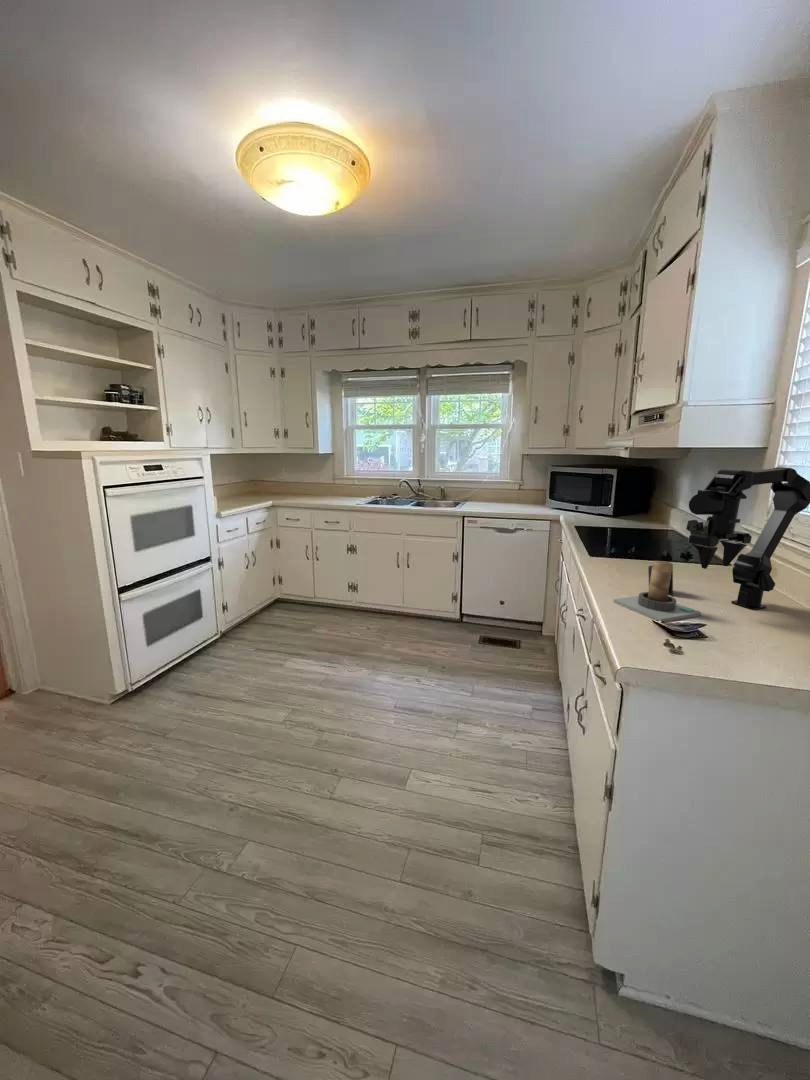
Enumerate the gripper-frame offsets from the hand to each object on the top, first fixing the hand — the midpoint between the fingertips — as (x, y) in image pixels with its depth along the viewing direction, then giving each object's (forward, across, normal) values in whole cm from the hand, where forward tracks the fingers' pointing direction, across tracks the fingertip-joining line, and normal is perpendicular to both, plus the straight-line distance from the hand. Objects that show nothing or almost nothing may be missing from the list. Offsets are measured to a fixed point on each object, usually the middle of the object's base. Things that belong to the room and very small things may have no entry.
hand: (714, 567), depth 125 cm
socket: (+13, +15, -5) cm, 20 cm away
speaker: (+13, 0, -16) cm, 21 cm away
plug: (+12, +15, -5) cm, 20 cm away
